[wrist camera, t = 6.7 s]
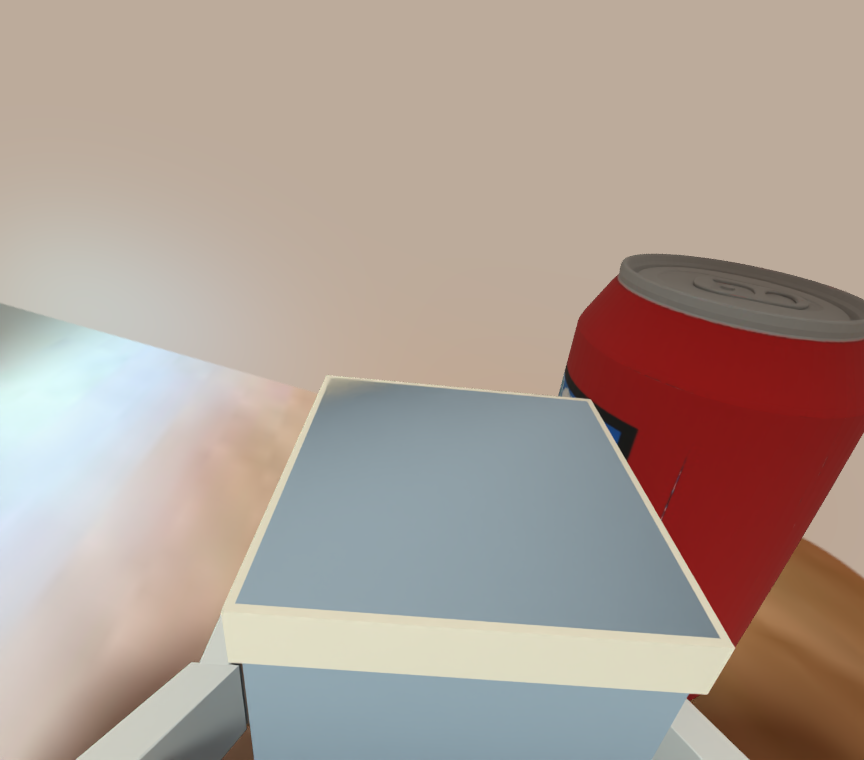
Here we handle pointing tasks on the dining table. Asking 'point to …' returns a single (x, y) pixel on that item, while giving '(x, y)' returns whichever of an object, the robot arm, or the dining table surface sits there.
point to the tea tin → (464, 587)
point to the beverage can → (725, 408)
